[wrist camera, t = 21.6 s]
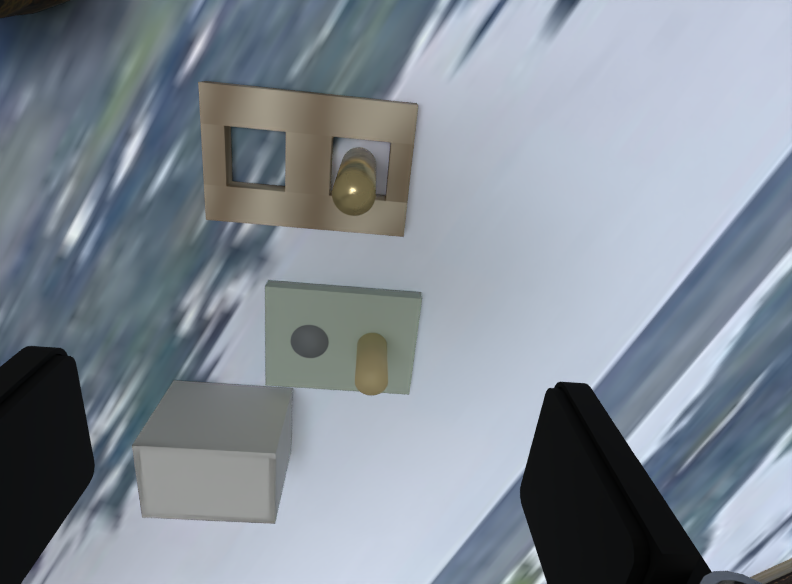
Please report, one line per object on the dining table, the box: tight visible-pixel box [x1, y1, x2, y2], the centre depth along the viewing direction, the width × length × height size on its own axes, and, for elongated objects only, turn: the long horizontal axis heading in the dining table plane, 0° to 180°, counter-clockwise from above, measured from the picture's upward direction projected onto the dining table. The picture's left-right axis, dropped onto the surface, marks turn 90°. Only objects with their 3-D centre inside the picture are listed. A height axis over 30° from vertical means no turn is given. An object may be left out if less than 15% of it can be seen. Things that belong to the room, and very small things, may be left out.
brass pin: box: [332, 148, 376, 216], centre depth 32 cm, size 2×2×9 cm
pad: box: [265, 280, 422, 395], centre depth 39 cm, size 12×9×6 cm
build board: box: [198, 81, 418, 237], centre depth 35 cm, size 14×9×2 cm, turn 84°
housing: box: [132, 380, 293, 524], centre depth 41 cm, size 10×7×8 cm
